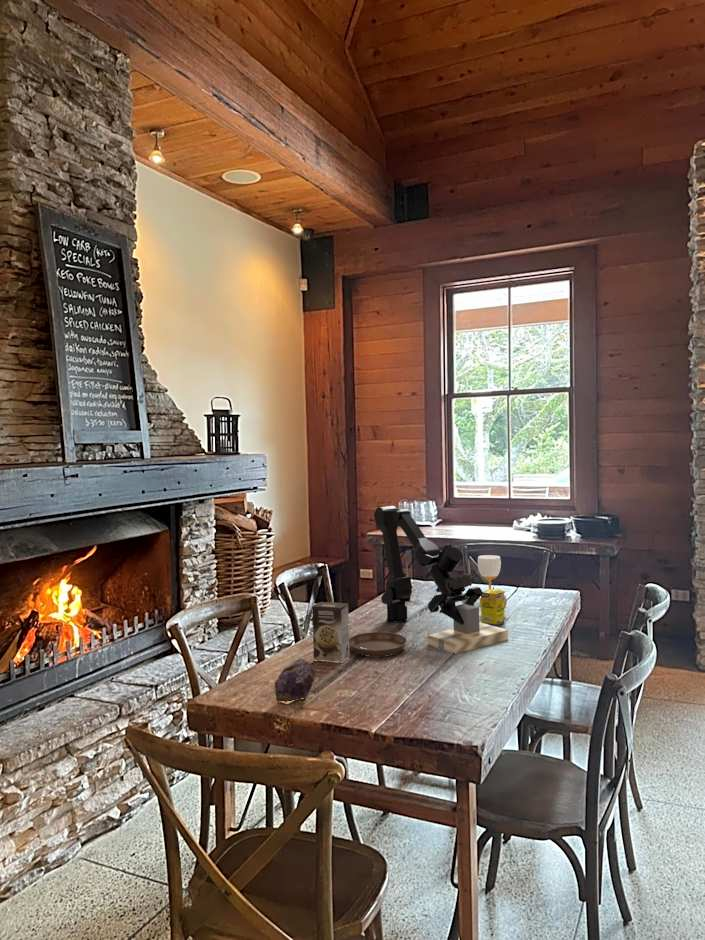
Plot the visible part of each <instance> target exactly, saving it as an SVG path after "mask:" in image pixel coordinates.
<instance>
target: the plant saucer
mask: <svg viewBox="0 0 705 940" xmlns="http://www.w3.org/2000/svg"><path fill="white" fill-rule="evenodd" d="M407 641H408V639H407V638H406V637H405V636H403V635H401V634H398V633H393V632H385V631H383V632H382V631H378V632H377V631H376V632H375V631H374V632H373V631H371V632H364V633H358V634H356V635H353V636H351V637H349V648H351V650H352V651H353V652H354V651H355V652H354V653H356V652H357V653H359V654H358V655H360V654H363V655H369V656H368V657H371V656H381V657H387V656H386V655H389V656H392V655H391V654H393V655H396V654H398V653H399V652H400V651H402V649H404V647H405V646H406V643H407ZM360 647H363V648H367V649H361V648H360ZM357 653H356V654H357ZM395 653H396V654H395ZM363 655H362V656H363Z"/></svg>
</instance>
